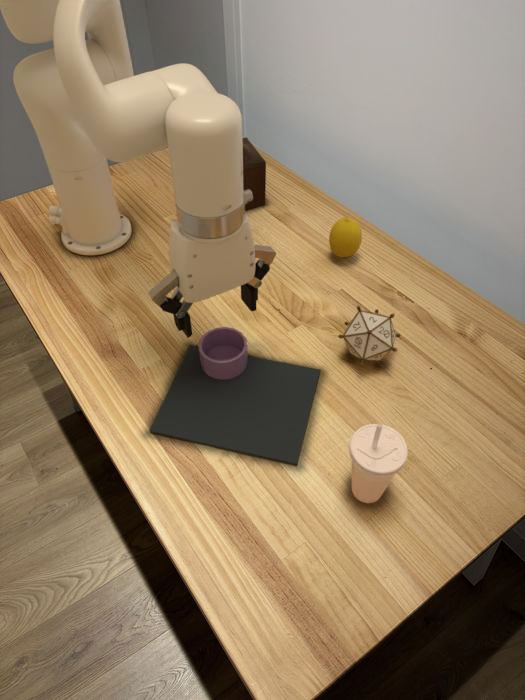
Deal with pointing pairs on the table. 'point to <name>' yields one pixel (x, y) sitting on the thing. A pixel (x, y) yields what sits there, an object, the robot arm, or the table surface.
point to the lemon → (345, 237)
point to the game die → (370, 336)
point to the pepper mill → (253, 174)
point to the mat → (240, 408)
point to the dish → (223, 353)
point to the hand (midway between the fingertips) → (217, 317)
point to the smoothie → (375, 460)
